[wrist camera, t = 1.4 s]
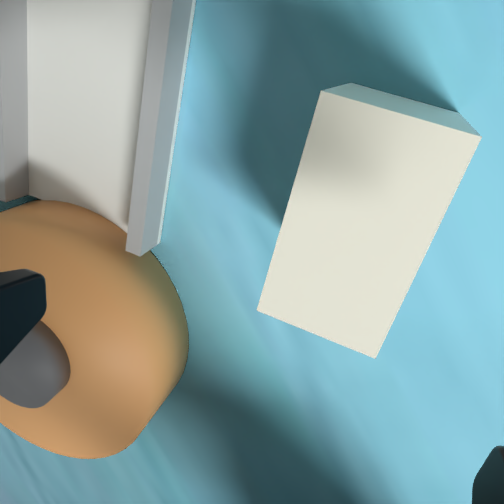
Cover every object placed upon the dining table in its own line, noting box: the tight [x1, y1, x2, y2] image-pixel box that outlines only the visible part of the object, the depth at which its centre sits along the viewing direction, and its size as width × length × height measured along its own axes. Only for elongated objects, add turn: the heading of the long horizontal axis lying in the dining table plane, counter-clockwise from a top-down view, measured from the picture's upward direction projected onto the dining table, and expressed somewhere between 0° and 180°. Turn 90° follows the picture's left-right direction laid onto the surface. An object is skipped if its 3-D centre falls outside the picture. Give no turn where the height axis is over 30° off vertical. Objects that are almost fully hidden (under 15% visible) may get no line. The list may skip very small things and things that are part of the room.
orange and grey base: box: [0, 0, 196, 459], centre depth 21 cm, size 14×25×5 cm, turn 166°
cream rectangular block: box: [257, 83, 482, 359], centre depth 15 cm, size 4×7×6 cm, turn 166°
